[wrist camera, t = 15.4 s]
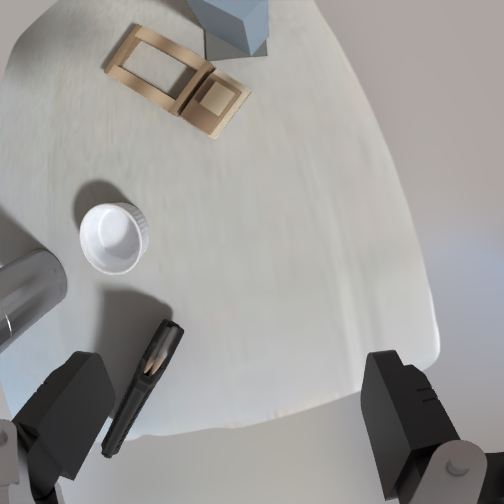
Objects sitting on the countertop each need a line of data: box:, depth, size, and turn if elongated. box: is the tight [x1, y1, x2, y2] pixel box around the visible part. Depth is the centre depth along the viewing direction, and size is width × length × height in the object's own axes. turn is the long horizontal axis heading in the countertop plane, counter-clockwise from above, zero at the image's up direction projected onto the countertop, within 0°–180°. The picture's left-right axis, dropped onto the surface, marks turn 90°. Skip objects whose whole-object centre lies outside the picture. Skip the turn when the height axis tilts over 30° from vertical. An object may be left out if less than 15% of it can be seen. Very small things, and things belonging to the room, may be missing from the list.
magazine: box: [101, 319, 184, 458], centre depth 42 cm, size 17×3×30 cm
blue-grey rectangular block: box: [186, 0, 269, 56], centre depth 25 cm, size 7×4×11 cm, turn 54°
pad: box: [205, 31, 267, 61], centre depth 31 cm, size 7×7×1 cm
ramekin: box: [79, 202, 150, 275], centre depth 37 cm, size 9×9×4 cm
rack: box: [104, 24, 251, 140], centre depth 31 cm, size 17×7×4 cm, turn 54°
